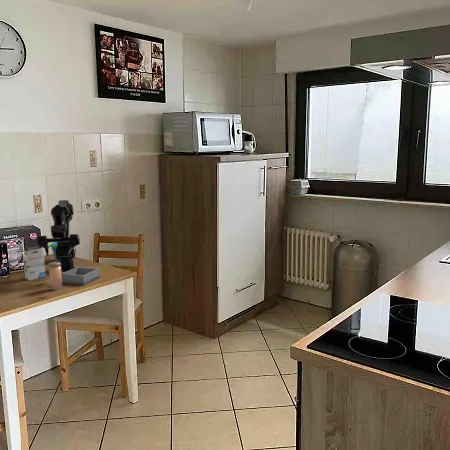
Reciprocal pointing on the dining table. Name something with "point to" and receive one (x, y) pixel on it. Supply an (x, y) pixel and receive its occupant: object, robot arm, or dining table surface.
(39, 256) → the ink box
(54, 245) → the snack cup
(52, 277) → the jar
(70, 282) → the box
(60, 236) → the robot arm
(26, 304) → the dining table surface
